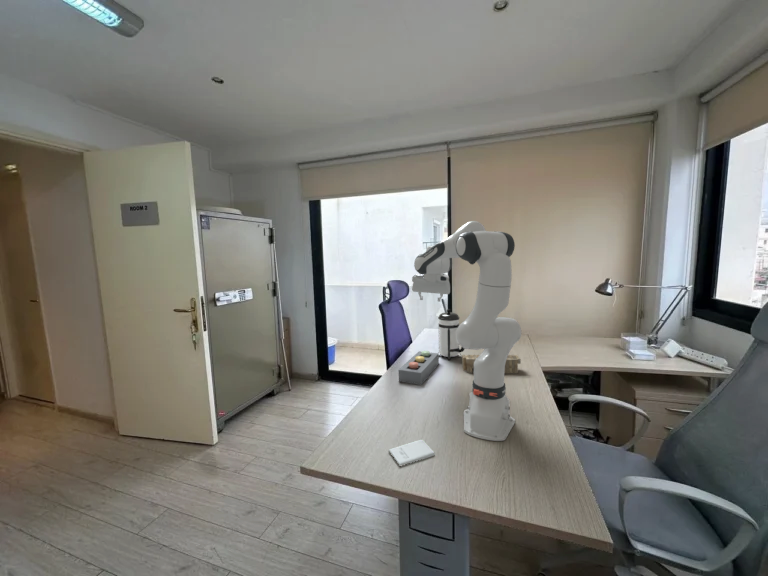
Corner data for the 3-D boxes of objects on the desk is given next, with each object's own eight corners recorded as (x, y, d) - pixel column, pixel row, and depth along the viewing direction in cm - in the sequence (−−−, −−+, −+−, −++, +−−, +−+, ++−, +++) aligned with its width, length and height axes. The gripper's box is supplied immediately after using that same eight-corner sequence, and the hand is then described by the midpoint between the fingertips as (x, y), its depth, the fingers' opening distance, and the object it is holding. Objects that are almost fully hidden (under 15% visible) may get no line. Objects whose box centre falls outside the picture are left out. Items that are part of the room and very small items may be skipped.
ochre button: (422, 362, 166) (422, 359, 165) (414, 361, 168) (414, 358, 168) (425, 360, 170) (425, 356, 170) (417, 359, 172) (417, 355, 172)
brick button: (416, 369, 157) (416, 365, 156) (407, 368, 159) (407, 364, 159) (419, 366, 161) (419, 362, 161) (410, 365, 163) (410, 361, 163)
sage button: (428, 357, 175) (428, 353, 174) (420, 356, 177) (420, 352, 176) (430, 354, 179) (430, 351, 179) (422, 353, 181) (422, 350, 181)
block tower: (464, 374, 167) (521, 373, 162) (463, 359, 166) (520, 358, 162) (462, 368, 174) (517, 368, 170) (461, 354, 174) (516, 353, 169)
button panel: (421, 384, 153) (421, 372, 152) (398, 381, 158) (398, 369, 157) (438, 363, 181) (438, 353, 181) (419, 361, 186) (419, 351, 186)
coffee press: (435, 360, 187) (434, 311, 184) (438, 352, 202) (437, 306, 199) (464, 362, 182) (464, 311, 179) (466, 353, 197) (465, 307, 194)
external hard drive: (434, 457, 99) (399, 468, 94) (421, 443, 106) (388, 453, 101) (434, 452, 99) (399, 463, 94) (421, 438, 106) (388, 448, 101)
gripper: (412, 275, 163) (410, 300, 166) (451, 278, 160) (449, 303, 163) (412, 273, 169) (411, 297, 172) (451, 275, 166) (448, 300, 169)
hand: (430, 300), depth 168 cm, fingers open, 8 cm apart
